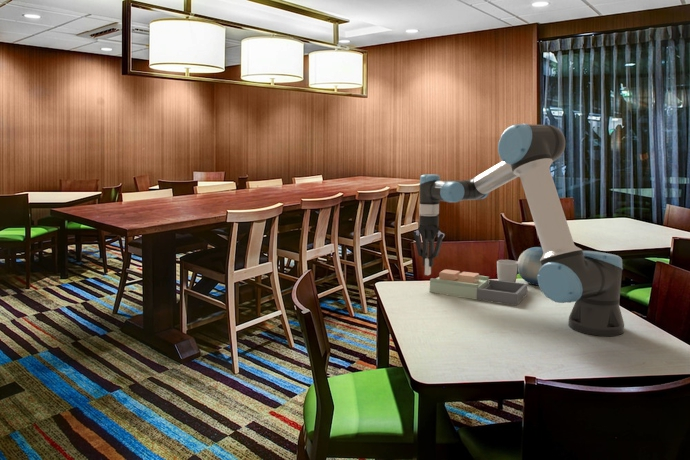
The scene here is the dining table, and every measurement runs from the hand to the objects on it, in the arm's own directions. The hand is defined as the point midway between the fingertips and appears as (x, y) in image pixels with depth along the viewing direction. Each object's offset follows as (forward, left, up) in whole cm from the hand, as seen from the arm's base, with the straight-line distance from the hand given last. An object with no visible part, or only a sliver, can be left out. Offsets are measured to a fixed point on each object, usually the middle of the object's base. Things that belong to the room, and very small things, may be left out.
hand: (427, 274), depth 204 cm
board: (0, -13, -5) cm, 14 cm away
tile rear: (0, -9, -1) cm, 9 cm away
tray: (0, -29, -5) cm, 30 cm away
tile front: (0, -16, -1) cm, 16 cm away
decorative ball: (+25, -36, -5) cm, 44 cm away
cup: (+15, -27, -5) cm, 31 cm away
